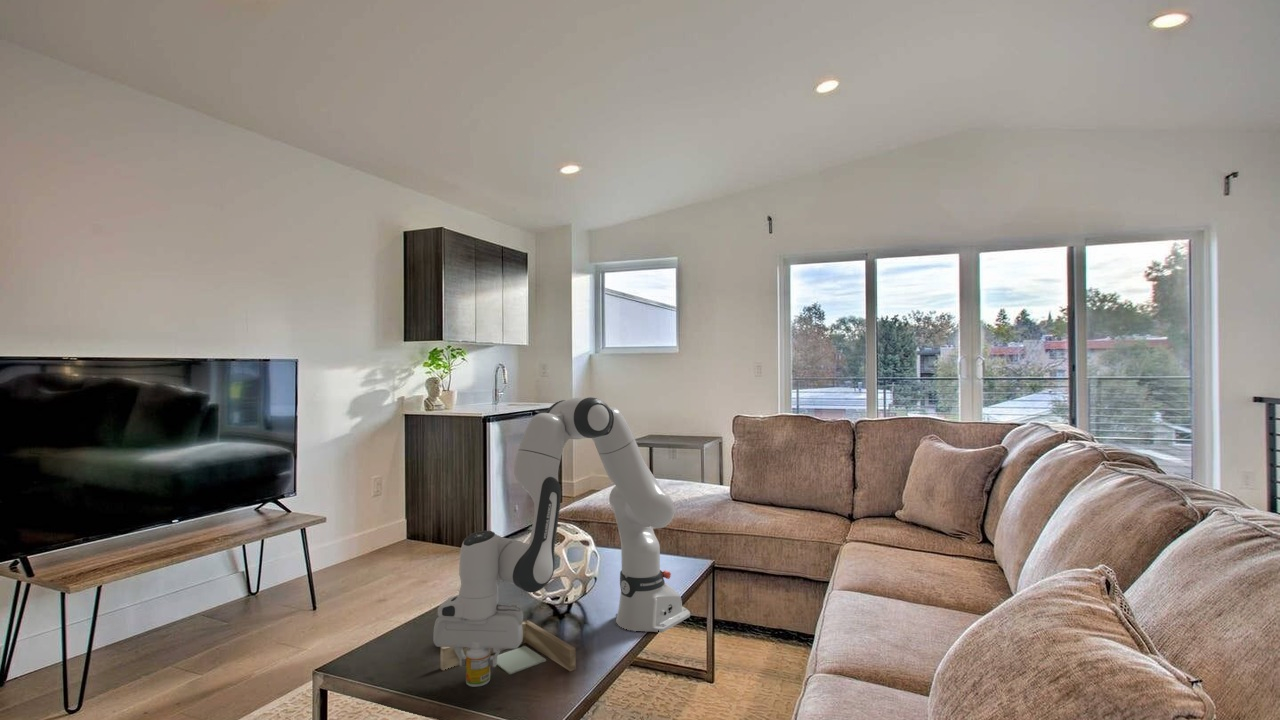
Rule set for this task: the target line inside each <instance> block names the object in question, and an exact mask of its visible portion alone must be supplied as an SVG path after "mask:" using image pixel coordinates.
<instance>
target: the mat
mask: <svg viewBox="0 0 1280 720" xmlns="http://www.w3.org/2000/svg"><path fill="white" fill-rule="evenodd" d="M544 662H547V658H545V657H543V656H542V655H540V654H539V653H537V652H535V651H534V650H533V649H531V648H529V647H528V646H526V645H522V646H521V647H520V646H519V647H518V648H516V649H511V650H509V651H505V652H503V653H499V655H498V656H497V665H496V666H498V667H499V668H501V669H502V670H503V671H504V672H505V673H507V674H508V675H512V674H515V673H518V672H520V671H523V670H526V669H528V668H531V667H534V666H537V665H539V664H542V663H544Z"/></svg>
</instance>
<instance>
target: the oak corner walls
mask: <svg viewBox="0 0 1280 720" xmlns="http://www.w3.org/2000/svg"><path fill="white" fill-rule="evenodd" d="M522 629H523V640H522V643H521V644H520V645H523V644H527V645H528V646H530V647H532V648H534V649H535V650H536V651H538V652H539V653H541V654H543V655H544V656H546V657H547V658H549V659H550V660H551V661H553V662H555V663H557V664H558V665H560V666H561V667H563V668H564V669H565V670H567V671H569V672H573V671H575V670H576V647H574V646H572V645H571V644H569V643H567V642H566V641H564V640H562V639H561V638H559V637H557V636H555V635H554V634H552V633H551V632H549V631H547V630H545V629H544V628H542V627H541V626H539V625H537V624H535V623H534V622H532V621H530V620H528V619H527V620H523V622H522ZM468 648H470V647H463V649H462V650H463V652H464V654H465V655H466V652H467V650H468ZM506 650H507V649H506V648H502V649H501V651H500V652H502V651H506ZM493 654H494V655H495V654H496V652H493V648H490V656H492V655H493ZM439 661H440V663H439V664H440V667H439V668H440V670H442V671H446V670H449V669H452V668H454V666H455V667H457V666H460V659H459V658H458V656H457V654H456V653H455V647H440V660H439ZM451 667H452V668H451ZM448 668H449V669H448ZM445 669H446V670H445Z"/></svg>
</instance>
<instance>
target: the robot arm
mask: <svg viewBox="0 0 1280 720" xmlns="http://www.w3.org/2000/svg"><path fill="white" fill-rule="evenodd" d="M582 439H592V442H594V445H595V448H596V450H597V453H598V455H599V458H600V461H601V462H602V465H603V467H604V470H605V472H606V475H607V477H608V479H609V480H610V481H611V482H612V483H613V484H614V486H613V488H612V489H611V490H610V493H609V499H608V501H609V505H610V507H611V510H612V511H613V514H614V517H615V521H616V525H617V529H618V533H619V539H620V547H621V548H620V549H621V551H620V552H621V570H620V572H619V573H620V574H619V585H620V586H619V587H620V595H619V605H618V609H617V614H616V618H615V624H616V623H617V624H618V625H619V626H620V627H619V626H618V625H617V624H616V625H617V626H618V627H619V628H621V627H622V628H621V629H623V628H624V629H623V630H626V629H627V630H626V631H630V630H633V631H632V632H636V631H645V632H648V633H649V632H651V633H652V632H654V633H664V632H666V631H668V630H670V629H671V628H673V627H675V626H676V625H678V624H680V623H681V622H683V621H684V620H686V619H688V618H689V617H691V611H690V610H688V609H687V608H686V607H684V606H683V602H682V597H681V595H680V593H679V592H678V591H676V589H674V587H673V588H672V587H671V586H670V585H668V584H667V583H666V582H665V579H667V580H669V579H671V577H672V573H671V572H670V571H668V570H661V549H660V548H661V547H660V541H659V540H658V538H657V536H656V534H655V531H654V529H663V528H665V527H667V526H669V524H670V523H671V522H672V520H673V518H674V515H675V513H676V509H675V504H674V500H673V499H672V498H671V496H670V495H669V494H667V492H666V491H665V490H664V489H663V487H662V486H661V485H660V483H659V481H658V480H657V478H656V477H655V476H654V475H653V473H652V471H651V469H650V468H649V467H648V465H647V464H646V461H645V459H644V458H643V455H642V453H641V450H640V448H639V445H638V443H637V440H636V438H635V436H634V434H633V431H632V430H631V427H630V426H629V423H628V422H627V420H626V418H625V417H624V414H622V412H621V410H619V409H618V408H617V407H615V406H609V405H608V404H607V403H605V401H603V400H601V399H599V398H597V397H573V398H569V399H563V400H562V399H561V400H559V401H557V402H555V403H552V405H550V407H548V409H547V410H546V412H541V413H537V414H535V415H533V416H532V417H531V419H530V421H529V423H528V424H527V427H526V429H525V431H524V434H523V435H522V438H521V441H520V443H519V446H518V451H517V453H516V458H515V460H514V465H513V466H514V467H513V468H514V469H513V473H514V474H513V475H514V477H515V480H516V482H517V483H518V484H519V486H520V487H521V488H522V489H523V490H524V491H525V492H527V493H528V495H529V496H530V497H531V499H532V502H533V505H534V514H533V519H532V527H531V532H530V536H529V537H530V538H529V539H530V540H529V542H528V543H526V542H523V541H521V540H518V539H514V538H507V537H503V536H501V535H498V534H496V533H495V532H494V531H492V530H481V531H475V532H472V533H470V534H469V535H468V536H466V537H465V538H464V539H463V541H462V544H461V548H460V553H459V562H458V563H459V569H458V571H459V574H458V575H459V579H460V587H459V590H458V594H457V595H453V596H451V597H450V596H449V597H448V598H447V599H446V600H444V601H443V602H442V603H441V604H440V606H438V608H437V616H438V617H437V618H436V619H435V621H434V627H433V637H432V640H433V641H432V642H433V643H434V645H435V647H439V648H441V647H455V653H456V654H457V656H458V658H459V659H460V665H459V666H460V667H466V655H465V654H464V652H463V650H462V649H463V647H470V648H471V647H472V642H479V643H480V648H493V652H496V653H494V655H490V658H489V667H490V668H496V667H497V666H498V665H497V656H498V655H499V654H501V652H502V651H501V649H502V648H506V649H505V650H508V649H511V650H514V649H517V648H520V646H521V645H522V644H521V643H522V640H523V629H522V622H523V621H524V612H523V610H522V609H521V608H520V607H518V606H517V605H515V604H514V605H513V604H512V605H507V604H499V585H500V583H503V582H505V583H508V584H511V585H514V586H516V587H517V588H519V589H521V590H523V591H524V592H526V593H537V592H539V591H540V590H542V589H544V588H545V587H546V586H547V585H548V584H549V582H550V581H551V579H552V578H553V576H554V573H555V566H556V563H555V559H556V557H555V548H556V539H557V531H558V525H559V518H560V517H559V516H560V510H561V502H562V488H561V484H560V483H559V467H560V463H561V459H562V456H563V455H562V454H563V450H564V447H565V445H566V443H567V442H568V441H569V440H582ZM664 578H665V579H664ZM658 630H659V632H658Z"/></svg>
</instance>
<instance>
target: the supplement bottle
mask: <svg viewBox="0 0 1280 720" xmlns="http://www.w3.org/2000/svg"><path fill="white" fill-rule="evenodd" d="M490 657H491V655H490V648H480V643H479V642H472V647H471V648H468V650H467V652H466V666H465V683H466V685H468V687H471V688H477V687H478V688H479V687H482V686H485V685H487V684H488V683H489V682H490V680H491V667H489V658H490Z"/></svg>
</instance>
